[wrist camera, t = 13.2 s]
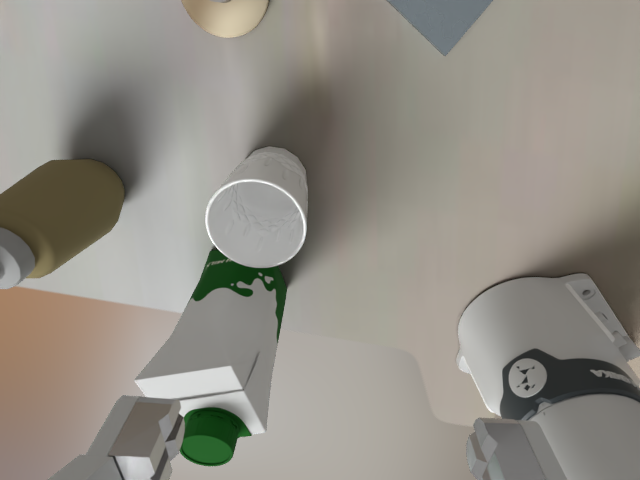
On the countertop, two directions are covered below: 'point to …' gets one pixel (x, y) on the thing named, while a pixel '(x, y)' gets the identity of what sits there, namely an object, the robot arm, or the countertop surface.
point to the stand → (226, 15)
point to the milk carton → (221, 358)
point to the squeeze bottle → (55, 216)
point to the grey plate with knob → (441, 18)
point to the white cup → (261, 209)
